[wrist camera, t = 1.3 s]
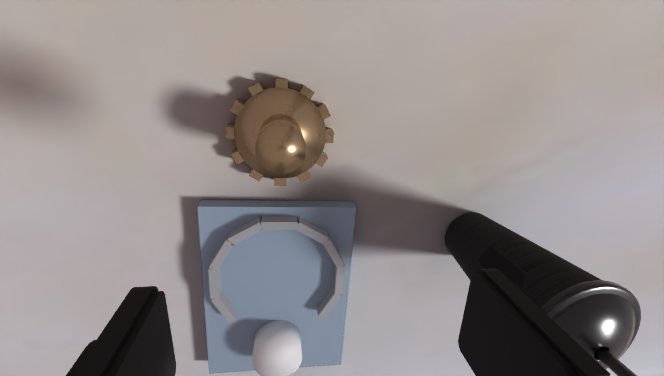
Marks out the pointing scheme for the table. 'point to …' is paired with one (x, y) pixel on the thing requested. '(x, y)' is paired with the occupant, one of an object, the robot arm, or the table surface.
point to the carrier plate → (275, 283)
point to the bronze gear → (279, 132)
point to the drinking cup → (552, 287)
